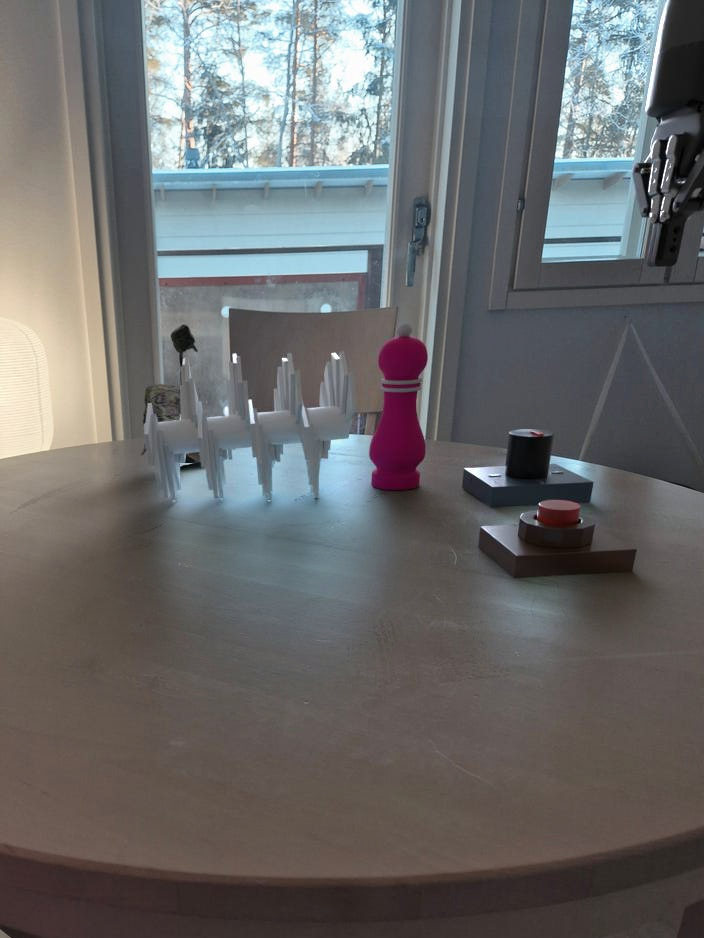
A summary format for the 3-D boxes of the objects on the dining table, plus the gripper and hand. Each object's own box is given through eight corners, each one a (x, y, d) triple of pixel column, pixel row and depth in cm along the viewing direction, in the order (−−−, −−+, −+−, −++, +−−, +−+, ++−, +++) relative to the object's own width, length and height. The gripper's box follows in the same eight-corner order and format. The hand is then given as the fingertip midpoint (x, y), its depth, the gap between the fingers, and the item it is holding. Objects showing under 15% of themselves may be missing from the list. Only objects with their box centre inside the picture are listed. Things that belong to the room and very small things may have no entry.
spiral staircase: (161, 521, 101) (344, 506, 100) (142, 497, 84) (363, 478, 83) (150, 389, 101) (333, 372, 100) (129, 337, 84) (350, 315, 83)
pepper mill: (357, 486, 99) (363, 324, 90) (386, 475, 104) (394, 320, 95) (404, 494, 94) (416, 324, 86) (433, 482, 99) (446, 320, 90)
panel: (552, 482, 97) (555, 462, 96) (590, 502, 88) (594, 480, 87) (461, 487, 96) (463, 466, 95) (490, 508, 87) (493, 485, 86)
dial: (497, 470, 93) (502, 427, 91) (535, 468, 93) (542, 425, 91) (515, 480, 89) (521, 435, 86) (555, 477, 89) (562, 432, 87)
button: (566, 516, 71) (569, 498, 71) (584, 527, 68) (588, 508, 67) (529, 518, 71) (532, 500, 70) (546, 529, 68) (549, 511, 67)
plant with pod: (143, 461, 119) (132, 326, 110) (214, 457, 119) (208, 322, 110) (140, 472, 111) (128, 328, 103) (216, 468, 112) (209, 325, 103)
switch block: (584, 541, 75) (591, 503, 74) (632, 572, 67) (641, 529, 66) (477, 547, 75) (482, 508, 73) (513, 578, 67) (519, 536, 65)
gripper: (802, 20, 59) (744, 263, 67) (698, 64, 71) (658, 266, 79) (710, 23, 59) (662, 266, 66) (621, 67, 71) (589, 269, 78)
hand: (660, 266), depth 72 cm, fingers closed
